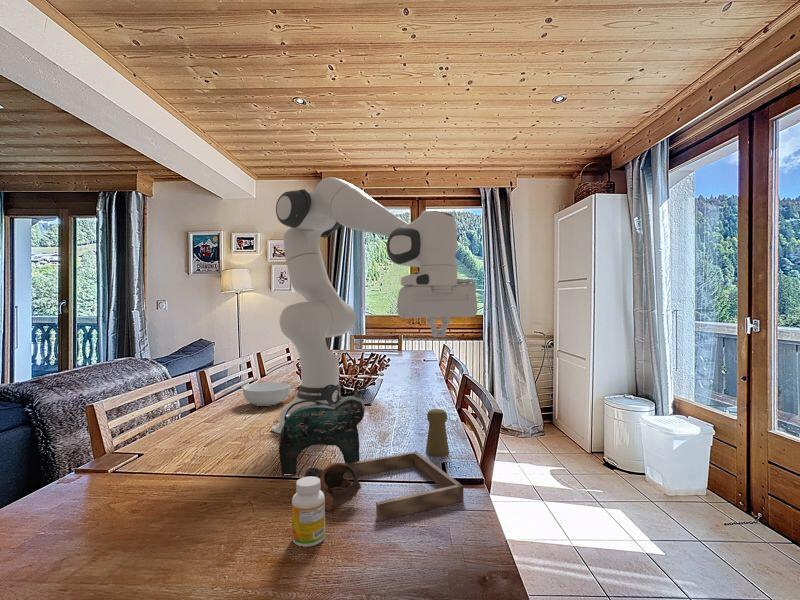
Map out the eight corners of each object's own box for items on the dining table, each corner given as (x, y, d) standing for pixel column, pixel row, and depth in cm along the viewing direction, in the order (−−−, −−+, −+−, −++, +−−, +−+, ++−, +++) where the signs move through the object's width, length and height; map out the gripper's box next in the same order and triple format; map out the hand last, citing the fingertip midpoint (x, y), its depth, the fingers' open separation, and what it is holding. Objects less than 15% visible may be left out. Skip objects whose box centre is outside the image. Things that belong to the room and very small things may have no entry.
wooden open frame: (416, 463, 105) (416, 451, 105) (463, 501, 85) (463, 486, 85) (344, 476, 97) (344, 463, 97) (378, 521, 78) (378, 504, 78)
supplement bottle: (295, 530, 75) (294, 475, 75) (326, 529, 76) (325, 473, 76) (289, 548, 70) (289, 488, 70) (323, 546, 70) (323, 487, 70)
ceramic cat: (364, 462, 106) (363, 380, 106) (367, 473, 99) (366, 386, 99) (280, 468, 102) (279, 384, 102) (277, 480, 96) (276, 390, 96)
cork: (448, 457, 109) (447, 413, 109) (424, 455, 110) (423, 412, 110) (450, 448, 115) (449, 407, 114) (427, 447, 116) (427, 406, 116)
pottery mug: (364, 490, 92) (368, 465, 87) (348, 531, 83) (351, 505, 79) (311, 473, 93) (313, 447, 89) (291, 511, 85) (291, 484, 81)
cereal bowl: (263, 412, 152) (263, 392, 152) (233, 406, 161) (233, 387, 161) (299, 402, 166) (299, 384, 166) (270, 397, 175) (269, 379, 175)
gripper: (468, 279, 110) (468, 333, 110) (394, 278, 102) (394, 337, 102) (482, 278, 104) (482, 336, 104) (405, 277, 96) (405, 339, 96)
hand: (438, 336), depth 103 cm, fingers closed
